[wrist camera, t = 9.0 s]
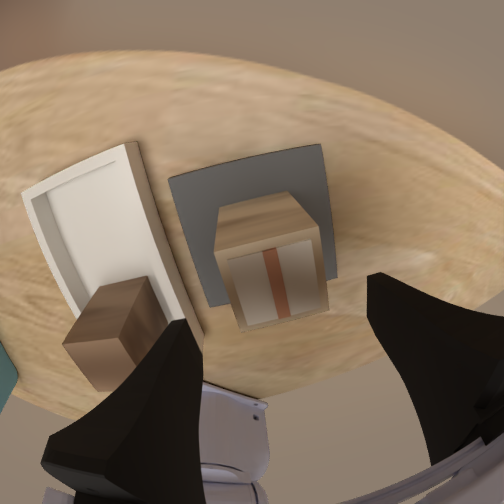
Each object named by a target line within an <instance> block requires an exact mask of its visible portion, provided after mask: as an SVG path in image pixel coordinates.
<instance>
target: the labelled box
mask: <svg viewBox="0 0 504 504" xmlns="http://www.w3.org/2000/svg"><path fill="white" fill-rule="evenodd" d="M214 255H215V258H216V261H217V264H218V267H219V270H220V273H221V276H222V279H223V282H224V285H225V288H226V291H227V294H228V297H229V300H230V303H231V306H232V308H233V311H234V314H235V317H236V320H237V323H238V326H239V328H240V331H241V333H242V332H246V331H251V330H255V329H259V328H264V327H268V326H272V325H276V324H280V323H284V322H288V321H292V320H296V319H300V318H303V317H307V316H311V315H315V314H318V313H322V312H325V311H329V301H328V292H327V283H326V275H325V267H324V259H323V252H322V245H321V238H320V231H319V226H318V225H317V224H316V222H315V221H314V220H313V219H312V218H311V217H310V216H309V214H308V213H307V212H306V211H305V210H304V209H303V208H302V207H301V205H300V204H299V203H298V202H297V201H296V200H295V199H294V198H293V196H292V195H291V194H290V193H289V192H288V191H283V192H279V193H275V194H270V195H266V196H262V197H258V198H254V199H250V200H246V201H242V202H238V203H234V204H230V205H227V206H223V207H219V214H218V221H217V229H216V237H215V245H214Z"/></svg>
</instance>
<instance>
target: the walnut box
mask: <svg viewBox="0 0 504 504" xmlns="http://www.w3.org/2000/svg"><path fill="white" fill-rule="evenodd" d="M167 326H168V321H167V319H166V317H165V314H164V312H163V310H162V308H161V306H160V304H159V301H158V299H157V297H156V295H155V292H154V290H153V288H152V286H151V283H150V281H149V279H148V276H142V277H138V278H134V279H129V280H125V281H121V282H117V283H112V284H108V285H104V286H99V288H98V289H97V290H96V292H95V293H94V295H93V296H92V298H91V299H90V301H89V302H88V304H87V305H86V307H85V308H84V310H83V311H82V313H81V314H80V316H79V317H78V319H77V320H76V322H75V324H74V325H73V327H72V328H71V330H70V332H69V333H68V335H67V337H66V338H65V340H64V342H63V343H62V345H63V347H64V348H65V349H66V351H67V352H68V354H69V355H70V357H71V358H72V359H73V361H74V362H75V363H76V365H77V366H78V368H79V369H80V370H81V371H82V373H83V374H84V375H85V377H86V378H87V379H88V380H89V382H90V383H91V384H92V385H93V387H94V388H95V389H96V390H97V391H98V392H105V391H115V390H116V389H117V388H118V387H119V386H120V385H121V384H122V383H123V382H124V381H125V379H126V378H127V377H128V376H129V375H130V374H131V373H132V372H133V370H134V369H135V368H136V367H137V365H138V364H139V363H140V362H141V361H142V359H143V358H144V357H145V356H146V354H147V353H148V352H149V350H150V349H151V348H152V346H153V345H154V344H155V342H156V341H157V339H158V338H159V337H160V335H161V334H162V333H163V331H164V330H165V329H166V327H167Z"/></svg>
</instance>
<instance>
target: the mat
mask: <svg viewBox="0 0 504 504" xmlns="http://www.w3.org/2000/svg"><path fill="white" fill-rule="evenodd" d="M168 182H169V186H170V189H171V193H172V196H173V199H174V203H175V206H176V209H177V212H178V216H179V219H180V222H181V225H182V228H183V231H184V234H185V238H186V241H187V244H188V247H189V250H190V253H191V256H192V259H193V262H194V264H195V267H196V270H197V273H198V276H199V279H200V282H201V285H202V287H203V290H204V293H205V296H206V298H207V301H208V304H209V307H215V306H220V305H225V304H229V303H230V300H229V297H228V294H227V291H226V288H225V285H224V282H223V279H222V276H221V273H220V270H219V267H218V264H217V261H216V258H215V255H214V245H215V237H216V229H217V221H218V214H219V207H223V206H227V205H230V204H234V203H238V202H242V201H246V200H250V199H254V198H258V197H262V196H266V195H270V194H275V193H279V192H283V191H288V192H289V193H290V194H291V195H292V196H293V198H294V199H295V200H296V201H297V202H298V203H299V204H300V205H301V207H302V208H303V209H304V210H305V211H306V212H307V213H308V214H309V216H310V217H311V218H312V219H313V220H314V221H315V222H316V224H317V225H318V226H319V231H320V238H321V245H322V252H323V259H324V267H325V275H326V281H327V280H331V279H335V278H338V277H337V264H336V253H335V243H334V233H333V224H332V216H331V208H330V200H329V193H328V186H327V179H326V172H325V166H324V160H323V154H322V148H321V144H315V145H309V146H303V147H297V148H292V149H286V150H281V151H276V152H271V153H266V154H261V155H257V156H252V157H248V158H243V159H239V160H234V161H230V162H226V163H222V164H218V165H214V166H210V167H206V168H203V169H199V170H195V171H191V172H188V173H184V174H181V175H177V176H174V177H170V178H169V179H168Z"/></svg>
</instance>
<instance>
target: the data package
mask: <svg viewBox="0 0 504 504" xmlns="http://www.w3.org/2000/svg"><path fill="white" fill-rule="evenodd" d="M17 379H18V375H17V371H16V368H15V367H14V365H13V363H12V362H11V360H10V358H9V357H8V355H7V353H6V351H5V350H4V348H3V346H2V344H1V342H0V413H1V411H2V409H3V407H4V405H5V404H6V401H7V400H8V398H9V396H10V394H11V392H12V390H13V389H14V387H15V385H16V383H17Z"/></svg>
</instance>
